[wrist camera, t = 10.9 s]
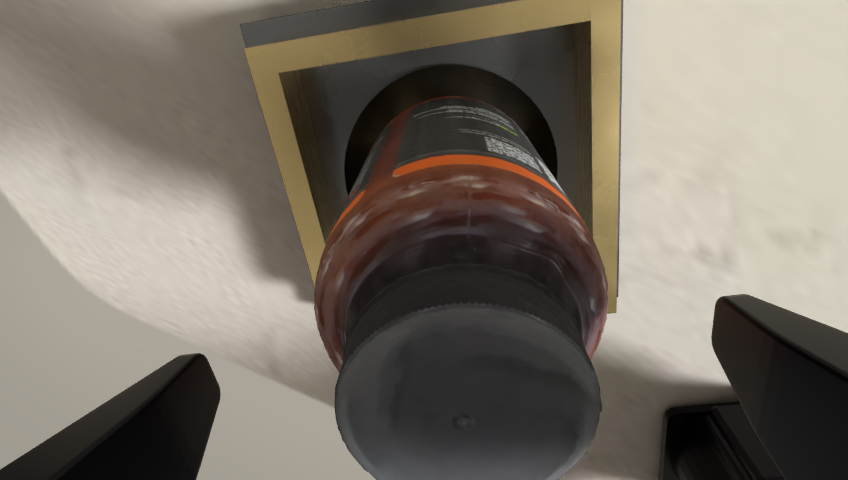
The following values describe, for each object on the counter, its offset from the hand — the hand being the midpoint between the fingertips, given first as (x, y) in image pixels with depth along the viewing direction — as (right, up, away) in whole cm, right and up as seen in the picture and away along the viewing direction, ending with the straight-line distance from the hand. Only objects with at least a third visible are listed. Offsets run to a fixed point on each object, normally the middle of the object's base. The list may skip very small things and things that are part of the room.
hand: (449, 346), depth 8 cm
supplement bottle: (+1, +4, +9) cm, 10 cm away
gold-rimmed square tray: (+1, +5, +10) cm, 12 cm away
